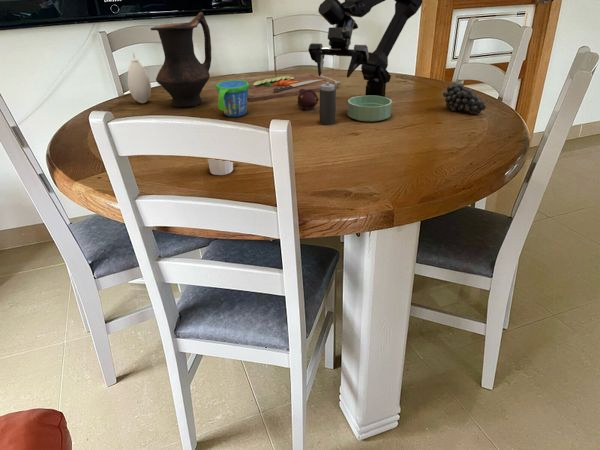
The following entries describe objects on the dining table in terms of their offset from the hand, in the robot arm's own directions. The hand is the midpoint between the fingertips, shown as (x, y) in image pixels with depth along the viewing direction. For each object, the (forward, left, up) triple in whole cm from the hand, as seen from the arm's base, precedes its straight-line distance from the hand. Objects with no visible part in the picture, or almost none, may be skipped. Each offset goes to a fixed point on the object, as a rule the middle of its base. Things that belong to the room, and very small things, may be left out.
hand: (333, 76), depth 145 cm
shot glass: (+46, +25, -13) cm, 54 cm away
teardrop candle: (+52, -51, -13) cm, 74 cm away
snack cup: (+27, -19, -13) cm, 35 cm away
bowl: (-10, +6, -13) cm, 17 cm away
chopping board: (-2, -45, -13) cm, 47 cm away
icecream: (+3, -12, -13) cm, 18 cm away
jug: (+37, -40, -13) cm, 56 cm away
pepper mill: (+5, +5, -13) cm, 14 cm away
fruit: (-40, +17, -13) cm, 45 cm away
